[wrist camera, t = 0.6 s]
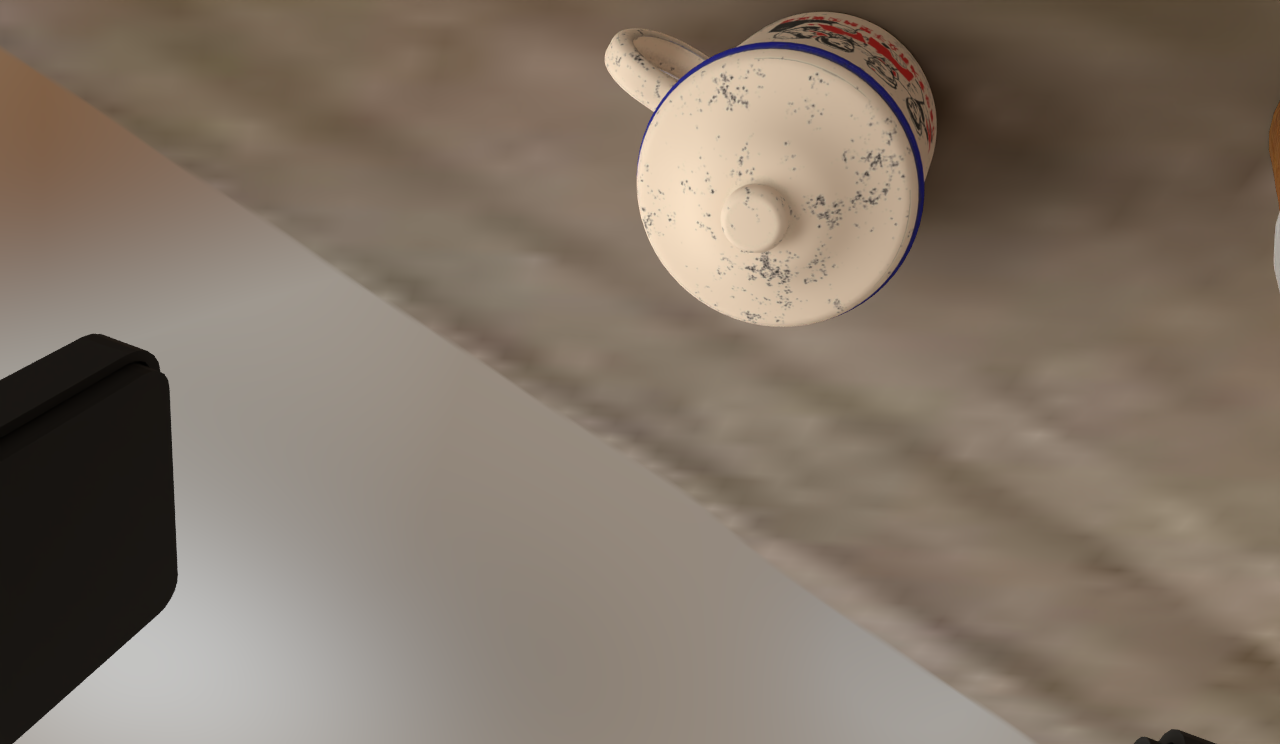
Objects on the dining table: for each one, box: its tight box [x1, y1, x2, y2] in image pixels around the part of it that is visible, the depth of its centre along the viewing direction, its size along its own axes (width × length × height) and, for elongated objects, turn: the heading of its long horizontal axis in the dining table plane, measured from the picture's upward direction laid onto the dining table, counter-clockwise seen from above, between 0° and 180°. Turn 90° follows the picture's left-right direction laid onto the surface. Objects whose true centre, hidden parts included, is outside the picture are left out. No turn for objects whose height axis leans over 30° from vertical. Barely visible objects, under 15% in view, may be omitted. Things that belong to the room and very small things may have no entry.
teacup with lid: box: [605, 12, 937, 327], centre depth 35 cm, size 12×9×12 cm
